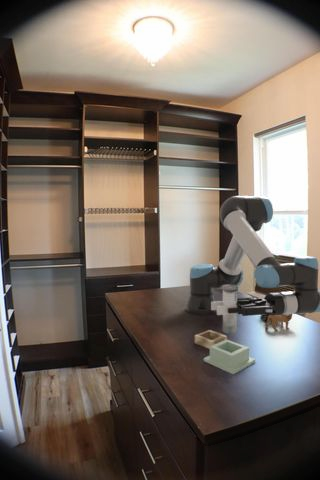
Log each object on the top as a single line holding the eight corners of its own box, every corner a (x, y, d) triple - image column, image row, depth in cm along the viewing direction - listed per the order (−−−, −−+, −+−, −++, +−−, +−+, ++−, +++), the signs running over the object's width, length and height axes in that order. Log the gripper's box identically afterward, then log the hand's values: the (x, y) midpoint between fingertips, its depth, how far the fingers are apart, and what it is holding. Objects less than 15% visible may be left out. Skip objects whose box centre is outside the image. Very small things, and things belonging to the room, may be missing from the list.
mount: (194, 342, 122) (194, 335, 122) (209, 337, 127) (209, 329, 127) (212, 350, 115) (212, 342, 115) (226, 343, 121) (226, 335, 121)
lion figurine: (285, 324, 141) (285, 304, 141) (295, 327, 137) (296, 307, 136) (261, 330, 135) (261, 309, 134) (270, 334, 130) (271, 312, 129)
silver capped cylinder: (218, 330, 105) (218, 286, 104) (228, 326, 109) (228, 283, 108) (231, 335, 102) (231, 288, 100) (240, 331, 105) (241, 286, 104)
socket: (203, 361, 107) (203, 346, 106) (226, 350, 115) (226, 337, 114) (233, 374, 98) (233, 358, 97) (255, 362, 106) (255, 347, 105)
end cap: (281, 323, 142) (282, 308, 141) (265, 323, 142) (266, 308, 142) (274, 316, 152) (275, 302, 151) (259, 316, 152) (260, 302, 152)
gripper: (295, 323, 99) (224, 328, 95) (266, 307, 117) (205, 311, 113) (295, 299, 99) (224, 304, 95) (266, 287, 116) (205, 290, 112)
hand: (214, 308), depth 104 cm, fingers closed on silver capped cylinder, 5 cm apart
